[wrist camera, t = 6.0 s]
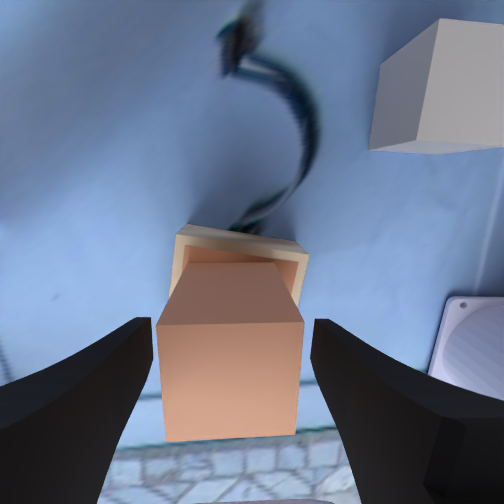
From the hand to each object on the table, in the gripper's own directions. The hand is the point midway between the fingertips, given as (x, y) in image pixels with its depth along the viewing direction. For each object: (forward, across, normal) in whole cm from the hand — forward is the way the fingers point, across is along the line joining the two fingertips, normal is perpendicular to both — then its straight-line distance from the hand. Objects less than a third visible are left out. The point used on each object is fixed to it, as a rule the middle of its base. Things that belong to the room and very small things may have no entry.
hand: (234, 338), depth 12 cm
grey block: (+6, -10, -11) cm, 16 cm away
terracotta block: (+3, 0, 0) cm, 3 cm away
